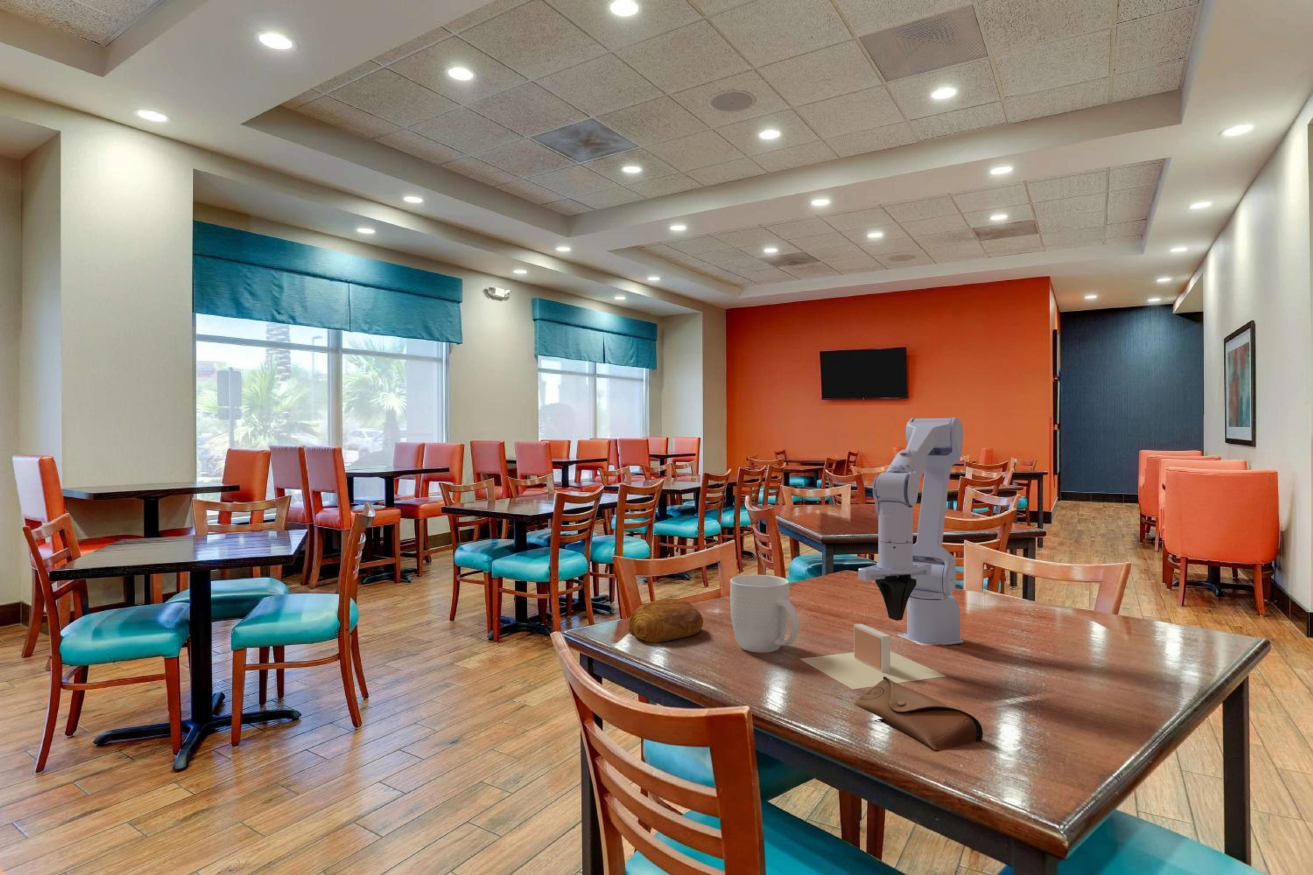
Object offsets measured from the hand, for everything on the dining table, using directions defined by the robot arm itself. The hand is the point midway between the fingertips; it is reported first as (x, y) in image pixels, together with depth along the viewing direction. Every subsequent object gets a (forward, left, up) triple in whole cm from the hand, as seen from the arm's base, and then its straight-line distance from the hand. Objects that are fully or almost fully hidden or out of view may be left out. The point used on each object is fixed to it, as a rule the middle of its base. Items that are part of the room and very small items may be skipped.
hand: (895, 618), depth 124 cm
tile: (+5, 0, -8) cm, 9 cm away
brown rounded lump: (+31, -33, -9) cm, 46 cm away
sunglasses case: (+14, +21, -9) cm, 27 cm away
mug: (+18, -15, -8) cm, 25 cm away
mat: (+6, +1, -8) cm, 10 cm away
